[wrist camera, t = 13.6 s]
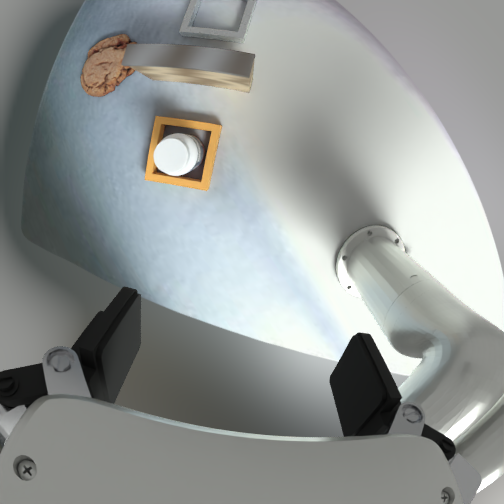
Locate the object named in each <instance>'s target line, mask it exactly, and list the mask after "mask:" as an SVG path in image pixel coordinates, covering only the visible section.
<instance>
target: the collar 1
mask: <svg viewBox="0 0 504 504" xmlns="http://www.w3.org/2000/svg"><path fill="white" fill-rule="evenodd" d="M201 1H202V0H190V3H189V5H188V8H187V11H186V13H185V16H184V19H183V22H182V24H181V27H180V30H179V33H180V34H181V36H182V37H196V38H207V39H216V40H224V41H231V42H237V43H243V44H244V41H245V37H246V34H247V30H248V27H249V24H250V21H251V17H252V14H253V11H254V8H255V5H256V2H257V0H244V1H248V2H247V5H246V8H245V11H244V14H243V17H242V20H241V23H240V26H239V30H238V32H236V31H229V30H221V29H213V28H202V27H192V25H193V22H194V20H195V17H196V14H197V11H198V9H199V6H200V3H201Z"/></svg>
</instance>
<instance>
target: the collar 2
mask: <svg viewBox="0 0 504 504" xmlns="http://www.w3.org/2000/svg"><path fill="white" fill-rule="evenodd" d="M165 125H172V126H179V127H186V128H193V129H200V130H206V131H212V132H211V136H210V141H209V146H208V150H207V155H206V160H205V165H204V170H203V175H202V180H199V179H194V178H188V177H182V176H172V175H168V174H165V173H158V172H157V166H156V165H155V162H154V157H153V156H154V150H155V148H156V146H157V145H158V144H159V143H160V142H161V140H162V139H163V134H164V129H165ZM221 129H222V126H221V125H216V124H211V123H205V122H198V121H192V120H184V119H177V118H169V117H160V116H156V118H155V122H154V127H153V132H152V138H151V143H150V149H149V155H148V161H147V167H146V174H145V180H149V181H155V182H161V183H167V184H172V185H178V186H184V187H189V188H194V189H200V190H205V191H207V190H208V189H209V186H210V181H211V176H212V171H213V166H214V161H215V156H216V152H217V147H218V143H219V138H220V134H221Z"/></svg>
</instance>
